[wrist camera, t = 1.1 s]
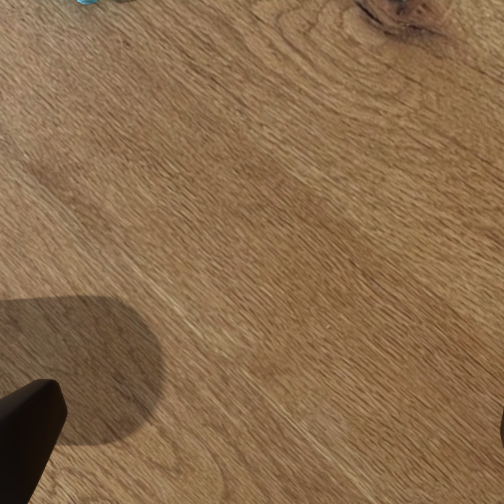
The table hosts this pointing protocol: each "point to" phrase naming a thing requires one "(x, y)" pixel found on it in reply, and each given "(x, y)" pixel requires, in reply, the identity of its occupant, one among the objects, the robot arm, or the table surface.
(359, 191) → the table surface
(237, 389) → the table surface
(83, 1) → the smartphone
